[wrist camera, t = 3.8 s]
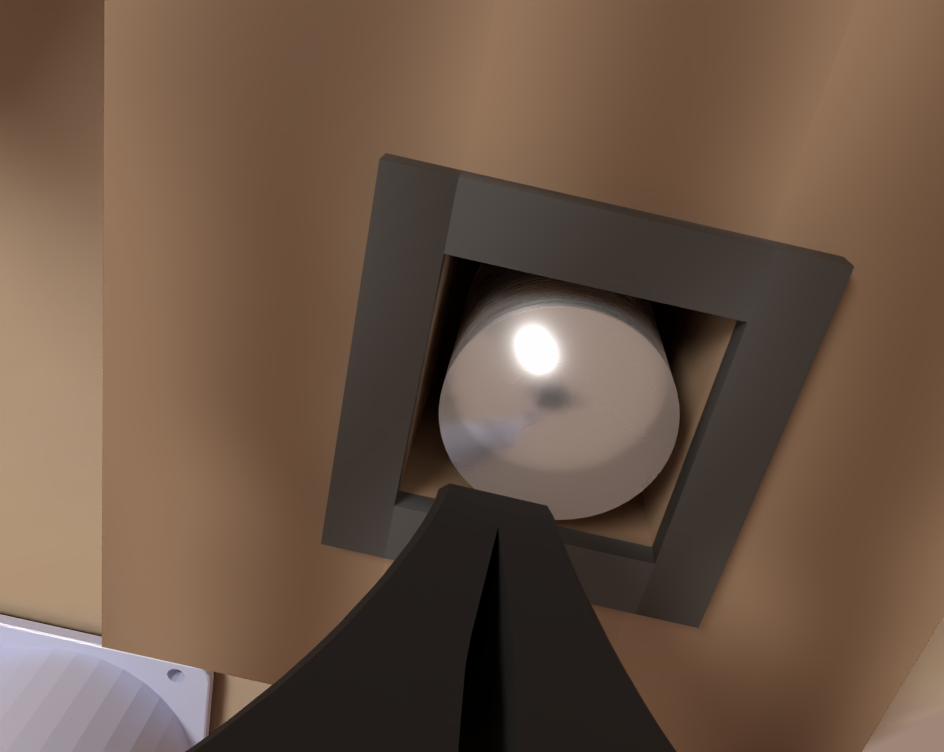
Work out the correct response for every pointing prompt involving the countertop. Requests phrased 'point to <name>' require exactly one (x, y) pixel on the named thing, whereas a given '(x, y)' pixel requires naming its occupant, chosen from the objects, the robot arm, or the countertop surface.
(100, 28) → the countertop surface
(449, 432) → the steel peg
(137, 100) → the walnut block
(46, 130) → the countertop surface
